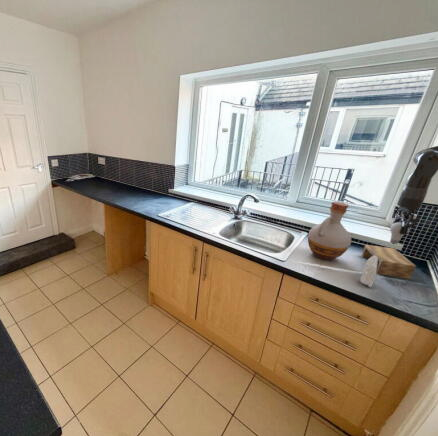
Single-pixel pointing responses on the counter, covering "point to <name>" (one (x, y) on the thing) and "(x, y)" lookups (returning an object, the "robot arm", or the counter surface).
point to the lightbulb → (396, 232)
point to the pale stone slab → (369, 271)
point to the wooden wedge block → (390, 261)
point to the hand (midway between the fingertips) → (398, 231)
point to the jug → (330, 235)
